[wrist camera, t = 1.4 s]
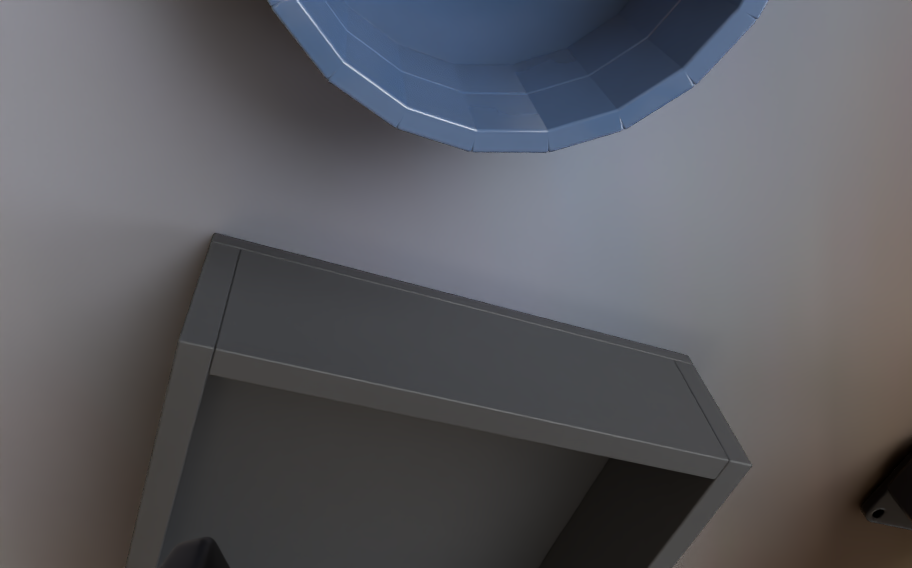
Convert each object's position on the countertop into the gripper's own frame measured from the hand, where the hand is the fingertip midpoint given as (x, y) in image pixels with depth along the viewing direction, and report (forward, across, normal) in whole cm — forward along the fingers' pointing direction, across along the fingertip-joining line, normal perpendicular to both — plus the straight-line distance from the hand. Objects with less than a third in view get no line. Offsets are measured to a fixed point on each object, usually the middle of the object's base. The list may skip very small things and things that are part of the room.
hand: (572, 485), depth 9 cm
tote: (+13, +4, +12) cm, 18 cm away
